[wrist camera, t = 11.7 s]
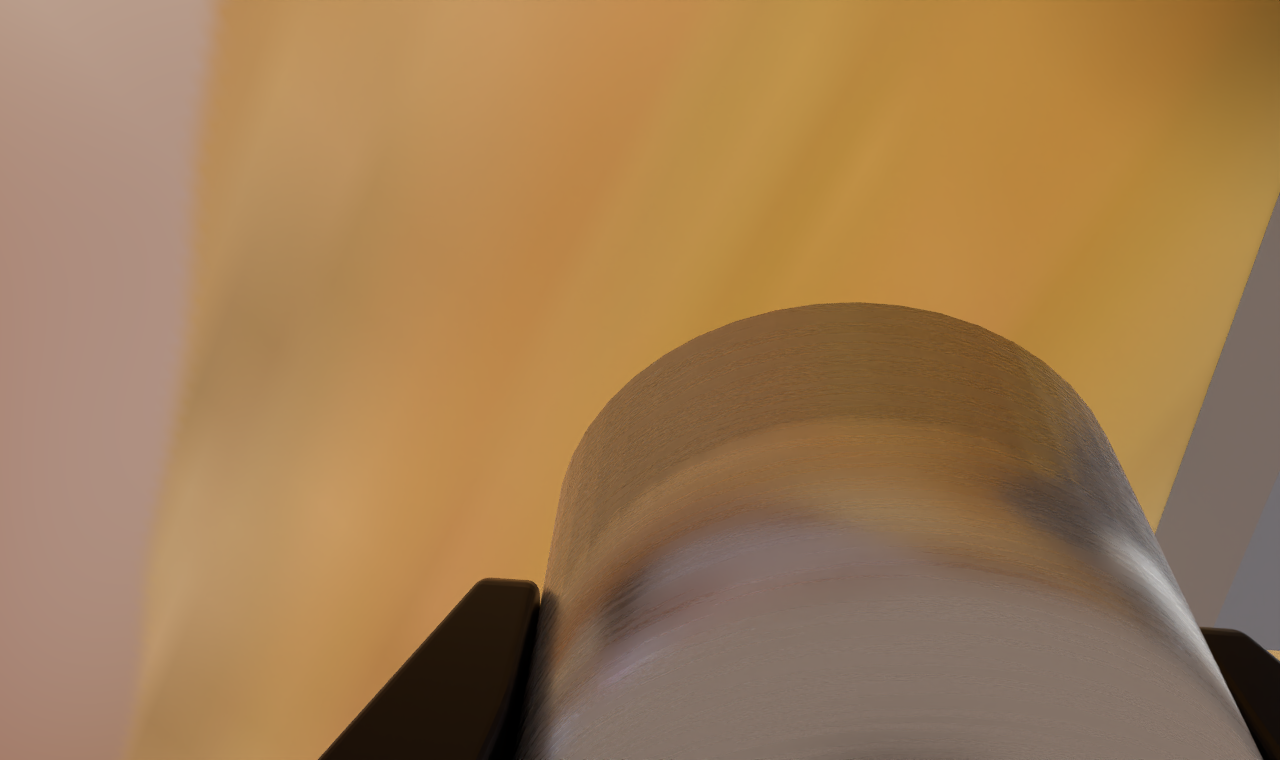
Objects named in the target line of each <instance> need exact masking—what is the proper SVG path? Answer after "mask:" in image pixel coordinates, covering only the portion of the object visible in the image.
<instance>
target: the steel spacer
mask: <svg viewBox="0 0 1280 760" xmlns="http://www.w3.org/2000/svg"><path fill="white" fill-rule="evenodd" d="M513 760H1263V758H1262V756H1261V754H1260V752H1259V750H1258V748H1257V746H1256V744H1255V742H1254V740H1253V738H1252V736H1251V734H1250V731H1249V729H1248V727H1247V725H1246V723H1245V721H1244V719H1243V717H1242V715H1241V713H1240V711H1239V709H1238V707H1237V705H1236V703H1235V700H1234V698H1233V696H1232V694H1231V692H1230V690H1229V688H1228V686H1227V684H1226V682H1225V680H1224V678H1223V676H1222V674H1221V672H1220V669H1219V667H1218V665H1217V663H1216V661H1215V659H1214V657H1213V655H1212V653H1211V651H1210V649H1209V647H1208V645H1207V643H1206V641H1205V639H1204V636H1203V634H1202V632H1201V630H1200V628H1199V626H1198V624H1197V622H1196V620H1195V618H1194V616H1193V614H1192V612H1191V610H1190V608H1189V605H1188V603H1187V601H1186V599H1185V597H1184V595H1183V593H1182V591H1181V589H1180V587H1179V585H1178V583H1177V581H1176V579H1175V577H1174V574H1173V572H1172V570H1171V568H1170V566H1169V564H1168V562H1167V560H1166V558H1165V556H1164V554H1163V552H1162V550H1161V548H1160V546H1159V543H1158V541H1157V539H1156V537H1155V535H1154V533H1153V531H1152V529H1151V527H1150V525H1149V523H1148V521H1147V519H1146V517H1145V515H1144V512H1143V510H1142V508H1141V506H1140V504H1139V502H1138V500H1137V498H1136V496H1135V494H1134V492H1133V490H1132V488H1131V486H1130V484H1129V482H1128V479H1127V477H1126V475H1125V473H1124V471H1123V469H1122V467H1121V465H1120V463H1119V461H1118V459H1117V457H1116V455H1115V453H1114V451H1113V448H1112V446H1111V444H1110V442H1109V440H1108V438H1107V436H1106V435H1105V433H1104V431H1103V430H1102V428H1101V426H1100V424H1099V423H1098V421H1097V419H1096V417H1095V416H1094V414H1093V412H1092V411H1091V409H1090V408H1089V407H1088V406H1087V405H1086V403H1085V402H1084V401H1083V400H1082V399H1081V397H1080V396H1079V395H1078V394H1077V392H1076V391H1075V390H1074V389H1073V388H1072V386H1071V385H1070V384H1068V383H1067V382H1066V381H1065V380H1064V379H1063V378H1062V377H1061V376H1059V375H1058V374H1057V373H1056V372H1055V371H1054V370H1053V369H1052V368H1050V367H1049V366H1048V365H1047V364H1046V363H1045V362H1043V361H1042V360H1040V359H1039V358H1037V357H1036V356H1034V355H1033V354H1031V353H1030V352H1028V351H1026V350H1025V349H1023V348H1022V347H1020V346H1019V345H1017V344H1016V343H1014V342H1012V341H1010V340H1008V339H1006V338H1004V337H1002V336H1000V335H997V334H995V333H993V332H991V331H989V330H987V329H985V328H983V327H980V326H978V325H975V324H972V323H969V322H966V321H963V320H960V319H956V318H953V317H950V316H947V315H944V314H941V313H936V312H931V311H926V310H921V309H915V308H910V307H905V306H899V305H886V304H872V303H834V304H814V305H808V306H802V307H795V308H789V309H782V310H776V311H772V312H768V313H764V314H761V315H757V316H753V317H750V318H746V319H743V320H739V321H735V322H733V323H730V324H728V325H725V326H723V327H720V328H718V329H715V330H713V331H710V332H708V333H705V334H703V335H701V336H698V337H696V338H694V339H693V340H691V341H689V342H687V343H685V344H683V345H682V346H680V347H678V348H676V349H674V350H673V351H671V352H669V353H667V354H665V355H664V356H662V357H661V358H660V359H658V360H657V361H655V362H654V363H653V364H651V365H650V366H649V367H647V368H646V369H645V370H643V371H642V372H640V373H639V374H638V375H636V376H635V377H634V378H633V379H632V380H631V381H630V382H629V383H627V384H626V385H625V386H624V387H623V388H622V389H621V390H620V391H619V392H618V393H617V394H616V395H615V396H614V397H613V398H612V399H611V400H610V401H609V402H608V403H607V404H606V406H605V407H604V408H603V410H602V411H601V412H600V413H599V415H598V416H597V417H596V418H595V420H594V421H593V422H592V424H591V425H590V426H589V427H588V429H587V431H586V433H585V434H584V436H583V438H582V440H581V442H580V443H579V445H578V447H577V449H576V450H575V452H574V454H573V456H572V459H571V462H570V464H569V467H568V470H567V472H566V475H565V478H564V481H563V483H562V488H561V494H560V499H559V504H558V509H557V515H556V520H555V526H554V531H553V537H552V543H551V548H550V554H549V559H548V565H547V570H546V576H545V582H544V587H543V593H542V598H541V604H540V610H539V615H538V621H537V626H536V632H535V638H534V643H533V649H532V654H531V660H530V665H529V671H528V677H527V682H526V688H525V693H524V699H523V704H522V710H521V715H520V721H519V727H518V732H517V738H516V743H515V749H514V754H513Z"/></svg>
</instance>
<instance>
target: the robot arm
mask: <svg viewBox="0 0 1280 760" xmlns="http://www.w3.org/2000/svg"><path fill="white" fill-rule="evenodd" d="M539 610H540V593H539V589H538V587H537V585H536V584H535V583H534V582H532V581H529V580H515V579H500V578H485V579H482V580H480V581H479V582H477V583H476V584H475V585H474V586H473V588H472V589H471V590H470V591H469V592H468V593H467V594H466V595H465V596H464V598H463V599H462V600H461V601H460V602H459V603H458V604H457V605H456V606H455V608H454V609H453V610H452V611H451V612H450V613H449V614H448V615H447V616H446V618H445V619H444V620H443V621H442V622H441V623H440V624H439V625H438V626H437V628H436V629H435V630H434V631H433V632H432V633H431V634H430V635H429V637H428V638H427V639H426V640H425V641H424V642H423V643H422V644H421V645H420V647H419V648H418V649H417V650H416V651H415V652H414V653H413V654H412V655H411V657H410V658H409V659H408V660H407V661H406V662H405V663H404V664H403V665H402V667H401V668H400V669H399V670H398V671H397V672H396V673H395V674H394V675H393V677H392V678H391V679H390V680H389V681H388V682H387V683H386V684H385V685H384V687H383V688H382V689H381V690H380V691H379V692H378V693H377V694H376V696H375V697H374V698H373V699H372V700H371V701H370V702H369V703H368V704H367V706H366V707H365V708H364V709H363V710H362V711H361V712H360V713H359V714H358V716H357V717H356V718H355V719H354V720H353V721H352V722H351V723H350V724H349V726H348V727H347V728H346V729H345V730H344V731H343V732H342V733H341V734H340V736H339V737H338V738H337V739H336V740H335V741H334V742H333V743H332V744H331V746H330V747H329V748H328V749H327V750H326V751H325V752H324V753H323V754H322V756H321V757H320V758H319V759H318V760H513V754H514V749H515V743H516V738H517V732H518V727H519V721H520V715H521V710H522V704H523V699H524V693H525V688H526V682H527V677H528V671H529V665H530V660H531V654H532V649H533V643H534V638H535V632H536V626H537V621H538V615H539ZM1199 628H1200V630H1201V632H1202V634H1203V636H1204V639H1205V641H1206V643H1207V645H1208V647H1209V649H1210V651H1211V653H1212V655H1213V657H1214V659H1215V661H1216V663H1217V665H1218V667H1219V669H1220V672H1221V674H1222V676H1223V678H1224V680H1225V682H1226V684H1227V686H1228V688H1229V690H1230V692H1231V694H1232V696H1233V698H1234V700H1235V703H1236V705H1237V707H1238V709H1239V711H1240V713H1241V715H1242V717H1243V719H1244V721H1245V723H1246V725H1247V727H1248V729H1249V731H1250V734H1251V736H1252V738H1253V740H1254V742H1255V744H1256V746H1257V748H1258V750H1259V752H1260V754H1261V756H1262V758H1263V760H1280V661H1279V660H1278V659H1277V658H1275V657H1274V656H1273V655H1272V654H1270V653H1269V652H1268V651H1267V650H1266V649H1264V648H1263V647H1262V646H1261V645H1260V644H1258V643H1257V642H1256V641H1255V640H1253V639H1252V638H1251V637H1249V636H1248V635H1246V634H1245V633H1243V632H1241V631H1238V630H1234V629H1227V628H1213V627H1199Z"/></svg>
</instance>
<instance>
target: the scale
mask: <svg viewBox="0 0 1280 760" xmlns="http://www.w3.org/2000/svg"><path fill="white" fill-rule="evenodd" d="M1155 537H1156V539H1157V541H1158V543H1159V546H1160V548H1161V550H1162V552H1163V554H1164V556H1165V558H1166V560H1167V562H1168V564H1169V566H1170V568H1171V570H1172V572H1173V574H1174V577H1175V579H1176V581H1177V583H1178V585H1179V587H1180V589H1181V591H1182V593H1183V595H1184V597H1185V599H1186V601H1187V603H1188V605H1189V608H1190V610H1191V612H1192V614H1193V616H1194V618H1195V620H1196V622H1197V624H1198V626H1199V627H1213V628H1227V629H1234V630H1238V631H1241V632H1243V633H1245V634H1246V635H1248V636H1249V637H1251V638H1252V639H1253V640H1255V641H1256V642H1257V643H1258V644H1260V645H1261V646H1262V647H1263V648H1264V649H1266V650H1278V651H1280V194H1279V196H1278V199H1277V202H1276V205H1275V207H1274V210H1273V213H1272V216H1271V218H1270V221H1269V224H1268V226H1267V229H1266V232H1265V235H1264V237H1263V240H1262V243H1261V246H1260V248H1259V251H1258V254H1257V257H1256V259H1255V262H1254V265H1253V268H1252V270H1251V273H1250V276H1249V279H1248V281H1247V284H1246V287H1245V289H1244V292H1243V295H1242V298H1241V300H1240V303H1239V306H1238V309H1237V311H1236V314H1235V317H1234V320H1233V322H1232V325H1231V328H1230V331H1229V333H1228V336H1227V339H1226V342H1225V344H1224V347H1223V350H1222V353H1221V355H1220V358H1219V361H1218V363H1217V366H1216V369H1215V372H1214V374H1213V377H1212V380H1211V383H1210V385H1209V388H1208V391H1207V394H1206V396H1205V399H1204V402H1203V405H1202V407H1201V410H1200V413H1199V416H1198V418H1197V421H1196V424H1195V426H1194V429H1193V432H1192V435H1191V437H1190V440H1189V443H1188V446H1187V448H1186V451H1185V454H1184V457H1183V459H1182V462H1181V465H1180V468H1179V470H1178V473H1177V476H1176V479H1175V481H1174V484H1173V487H1172V490H1171V492H1170V495H1169V498H1168V500H1167V503H1166V506H1165V509H1164V511H1163V514H1162V517H1161V520H1160V522H1159V525H1158V528H1157V531H1156V533H1155Z"/></svg>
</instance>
